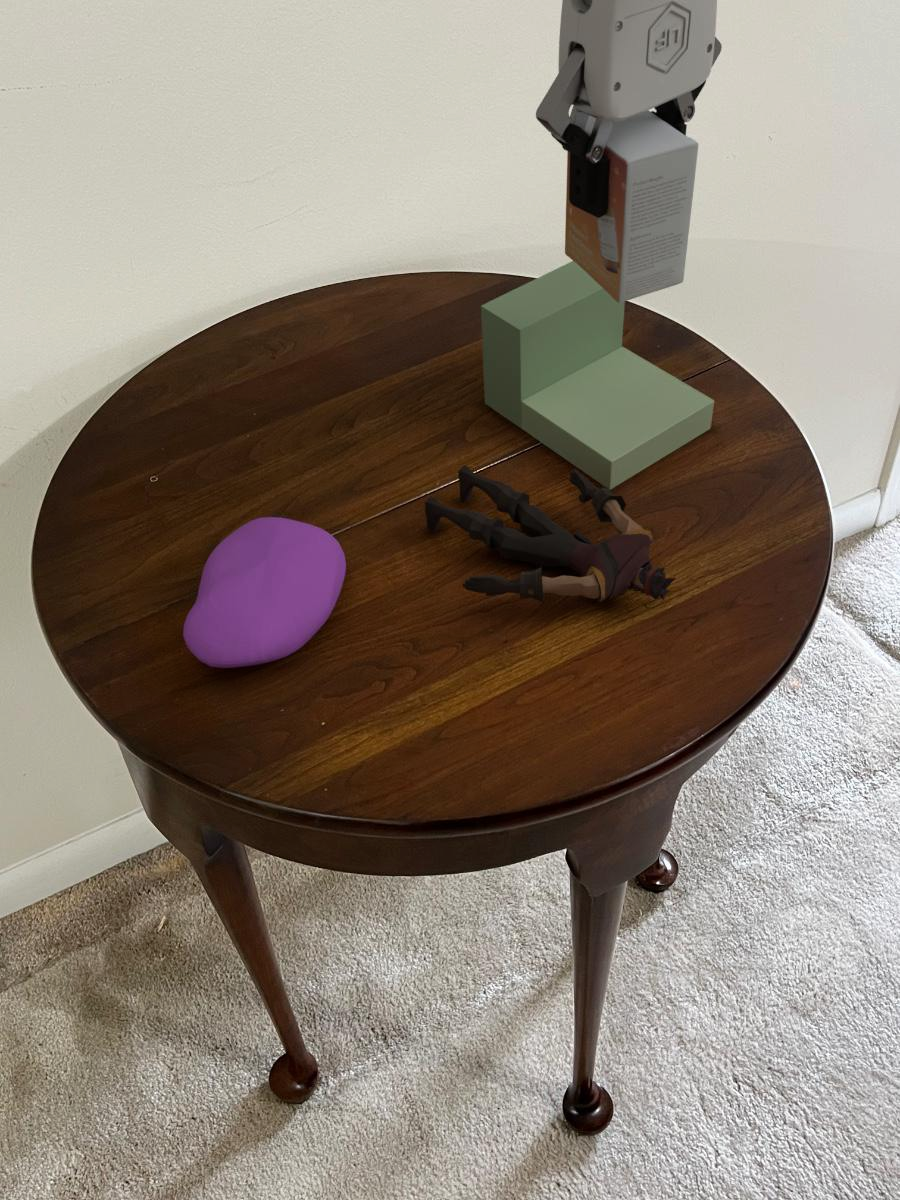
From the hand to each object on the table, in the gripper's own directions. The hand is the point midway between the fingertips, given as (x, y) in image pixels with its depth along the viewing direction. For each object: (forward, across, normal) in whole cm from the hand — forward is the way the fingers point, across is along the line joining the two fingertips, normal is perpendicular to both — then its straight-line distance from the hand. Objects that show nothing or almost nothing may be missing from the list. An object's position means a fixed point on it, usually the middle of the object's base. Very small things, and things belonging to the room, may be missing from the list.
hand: (625, 189), depth 78 cm
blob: (+23, -33, +4) cm, 40 cm away
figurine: (+23, -13, -7) cm, 27 cm away
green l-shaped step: (+23, +2, +4) cm, 24 cm away
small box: (+6, 0, 0) cm, 6 cm away
